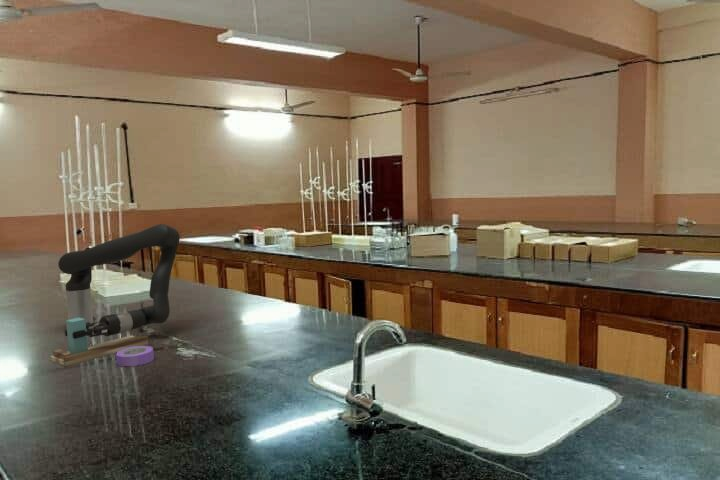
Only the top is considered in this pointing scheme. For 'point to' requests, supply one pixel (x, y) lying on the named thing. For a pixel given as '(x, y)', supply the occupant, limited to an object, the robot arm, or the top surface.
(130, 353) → the masking tape
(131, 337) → the board
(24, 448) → the top surface
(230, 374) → the top surface
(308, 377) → the top surface
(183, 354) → the top surface
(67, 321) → the block
